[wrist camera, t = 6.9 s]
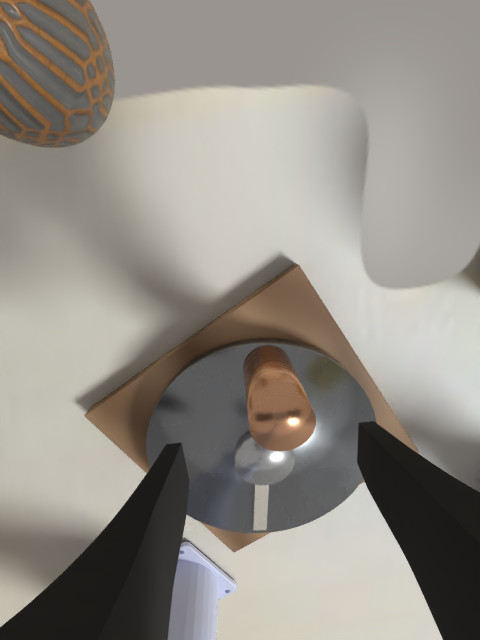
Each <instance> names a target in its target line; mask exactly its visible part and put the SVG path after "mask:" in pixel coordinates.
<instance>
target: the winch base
mask: <svg viewBox="0 0 480 640" xmlns="http://www.w3.org/2000/svg"><path fill="white" fill-rule="evenodd" d="M253 338H281V339H287V340H292V341H297V342H301V343H304V344H307V345H310V346H313V347H315V348H317V349H319V350H321V351H323V352H325V353H327V354H328V355H330V356H331V357H333V358H334V359H336V360H337V361H338V362H339V363H341V364H342V365H343V366H344V367H345V368H346V369H347V370H348V371H349V372H350V373H351V375H352V376H353V377H354V378H355V379H356V381H357V382H358V383H359V384H360V386H361V387H362V388H363V389H364V391H365V393H366V395H367V396H368V398H369V400H370V402H371V405H372V407H373V410H374V413H375V418H376V422H377V424H378V425H380V426H381V427H382V428H384V429H385V430H386V431H388V432H389V433H390V434H392V435H393V436H394V437H396V438H397V439H399V440H400V441H401V442H403V443H404V444H405V445H407V446H408V447H409V448H411V449H412V450H414V451H415V452H416V453H418V452H419V451H418V450H417V448H416V447H415V445H414V444H413V442H412V440H411V439H410V437H409V436H408V434H407V433H406V431H405V429H404V428H403V426H402V425H401V423H400V422H399V420H398V419H397V417H396V415H395V414H394V412H393V411H392V409H391V408H390V406H389V405H388V403H387V401H386V400H385V398H384V397H383V395H382V394H381V392H380V391H379V389H378V387H377V386H376V384H375V383H374V381H373V380H372V378H371V377H370V375H369V373H368V372H367V370H366V369H365V367H364V366H363V364H362V362H361V361H360V359H359V358H358V356H357V355H356V353H355V352H354V350H353V348H352V347H351V345H350V344H349V342H348V341H347V339H346V338H345V336H344V334H343V333H342V331H341V330H340V328H339V327H338V325H337V324H336V322H335V320H334V319H333V317H332V316H331V314H330V313H329V311H328V310H327V308H326V306H325V305H324V303H323V302H322V300H321V299H320V297H319V295H318V294H317V292H316V291H315V289H314V288H313V286H312V285H311V283H310V281H309V280H308V278H307V277H306V275H305V274H304V272H303V271H302V269H301V267H300V266H299V265H298V264H296V263H295V264H294V265H292V266H291V267H290V268H288V269H287V270H285V271H284V272H283V273H281V274H280V275H278V276H277V277H275V278H274V279H273V280H271V281H270V282H268V283H267V284H265V285H264V286H263V287H261V288H260V289H258V290H257V291H255V292H254V293H253V294H251V295H250V296H248V297H247V298H246V299H244V300H243V301H241V302H240V303H238V304H237V305H236V306H234V307H233V308H231V309H230V310H228V311H227V312H226V313H224V314H223V315H221V316H220V317H219V318H217V319H216V320H214V321H213V322H211V323H210V324H209V325H207V326H206V327H204V328H203V329H201V330H200V331H199V332H197V333H196V334H194V335H193V336H192V337H190V338H189V339H187V340H186V341H184V342H183V343H182V344H180V345H179V346H177V347H176V348H174V349H173V350H172V351H170V352H169V353H167V354H166V355H165V356H163V357H162V358H160V359H159V360H157V361H156V362H155V363H153V364H152V365H150V366H149V367H147V368H146V369H145V370H143V371H142V372H140V373H139V374H138V375H136V376H135V377H133V378H132V379H130V380H129V381H128V382H126V383H125V384H123V385H122V386H120V387H119V388H118V389H116V390H115V391H113V392H112V393H111V394H109V395H108V396H106V397H105V398H103V399H102V400H101V401H99V402H98V403H96V404H95V405H93V406H92V407H91V408H90V409H89V410H88V412H87V413H86V414H85V417H86V418H87V419H88V420H89V421H90V422H91V423H92V424H94V425H95V426H96V427H97V428H98V429H99V430H100V431H101V432H102V433H103V434H105V435H106V436H107V437H108V438H109V439H110V440H111V441H112V442H113V443H114V444H115V445H117V446H118V447H119V448H120V449H121V450H122V451H123V452H124V453H125V454H126V455H128V456H129V457H130V458H131V459H132V460H133V461H134V462H135V463H136V464H137V465H139V466H140V467H141V468H142V469H143V470H144V471H145V472H146V473H148V471H149V470H150V467H149V464H148V459H147V453H146V438H147V431H148V426H149V423H150V420H151V416H152V414H153V411H154V409H155V406H156V404H157V402H158V400H159V397H160V395H161V393H162V392H163V390H164V389H165V387H166V386H167V384H168V383H169V382H170V380H171V379H172V378H173V377H174V376H175V375H176V374H177V373H178V372H179V371H180V370H181V369H182V368H183V367H185V366H186V365H187V364H188V363H189V362H191V361H192V360H194V359H195V358H197V357H199V356H200V355H202V354H203V353H205V352H208V351H210V350H212V349H214V348H216V347H219V346H222V345H225V344H228V343H231V342H235V341H240V340H245V339H253ZM363 482H365V481H364V478H363V480H362V482H361V483H363ZM361 483H360V484H361ZM201 523H202V522H201ZM202 524H203V525H204V526H205V527H206V528H208V529H209V530H210V531H211V532H212V533H213V534H214V535H215V536H216V537H217V538H219V539H220V540H221V541H222V542H223V543H224V544H225V545H226V546H227V547H228V548H229V549H231V550H232V551H233V552H236V551H238V550H240V549H241V548H243V547H245V546H247V545H249V544H251V543H252V542H254V541H256V540H258V539H260V538H262V537H263V536H265V535H267V534H269V533H271V532H268V533H241V532H233V531H228V530H223V529H219V528H216V527H213V526H209V525H207V524H204V523H202Z"/></svg>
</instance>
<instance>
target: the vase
mask: <svg viewBox="0 0 480 640" xmlns="http://www.w3.org/2000/svg"><path fill="white" fill-rule="evenodd" d="M114 81H115V79H114V68H113V61H112V56H111V52H110V48H109V44H108V41H107V38H106V35H105V32H104V29H103V27H102V25H101V22H100V20H99V18H98V16H97V14H96V12H95V10H94V8H93V6H92V4H91V2H90V1H89V0H0V135H3V136H5V137H7V138H10V139H13V140H16V141H19V142H22V143H26V144H30V145H34V146H39V147H66V146H71V145H74V144H78V143H80V142H82V141H84V140H86V139H88V138H89V137H91V136H92V135H93V134H95V133H96V132H97V131H98V130H99V128H100V127H101V126H102V125H103V123H104V122H105V120H106V118H107V116H108V114H109V112H110V109H111V105H112V102H113V97H114V87H115V86H114V85H115V83H114Z"/></svg>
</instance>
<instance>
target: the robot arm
mask: <svg viewBox="0 0 480 640" xmlns="http://www.w3.org/2000/svg"><path fill="white" fill-rule="evenodd" d="M357 464H358V466H359V469H360V471H361V474H362V476H363V478H364V481H365V483H366V485H367V488H368V490H369V492H370V493H371V495H372V497H373V499H374V501H375V502H376V504H377V506H378V508H379V510H380V512H381V513H382V515H383V517H384V519H385V520H386V522H387V524H388V526H389V528H390V529H391V531H392V533H393V535H394V537H395V538H396V540H397V542H398V544H399V545H400V547H401V549H402V551H403V553H404V555H405V557H406V559H407V561H408V563H409V565H410V567H411V569H412V571H413V573H414V575H415V578H416V580H417V582H418V584H419V586H420V588H421V591H422V593H423V595H424V597H425V599H426V602H427V604H428V606H429V609H430V611H431V613H432V615H433V618H434V620H435V622H436V625H437V627H438V629H439V631H440V634H441V636H442V638H443V640H480V492H478V491H476V490H474V489H472V488H471V487H469V486H467V485H465V484H464V483H462V482H461V481H459V480H457V479H456V478H454V477H452V476H451V475H449V474H448V473H446V472H445V471H443V470H441V469H440V468H438V467H437V466H435V465H434V464H432V463H431V462H429V461H428V460H426V459H425V458H424V457H422V456H421V455H419V454H418V453H416V452H415V451H414V450H412V449H411V448H409V447H408V446H407V445H405V444H404V443H403V442H401V441H400V440H399V439H397V438H396V437H394V436H393V435H392V434H390V433H389V432H388V431H386V430H385V429H384V428H382V427H381V426H380V425H378V424H377V423H376V422H374V421H370V422H361V423H359V426H358V451H357ZM188 495H189V477H188V472H187V467H186V462H185V457H184V452H183V447H182V442H181V443H172V444H166V445H165V446H164V448H163V450H162V451H161V453H160V454H159V456H158V457H157V459H156V461H155V462H154V464H153V465H152V467H151V468H150V470H149V471H148V473H147V474H146V476H145V477H144V478H143V480H142V481H141V483H140V484H139V486H138V487H137V488H136V490H135V491H134V493H133V494H132V495H131V497H130V498H129V499H128V500H127V502H126V503H125V504H124V506H123V507H122V508H121V510H120V511H119V512H118V513H117V515H116V516H115V517H114V518H113V520H112V521H111V522H110V523H109V524H108V526H107V527H106V528H105V529H104V530H103V531H102V532H101V534H100V535H99V536H98V537H97V538H96V539H95V540H94V541H93V542H92V544H91V545H90V546H89V547H88V548H87V549H86V550H85V551H84V552H83V553H82V554H81V555H80V556H79V557H78V558H77V559H76V560H75V561H74V562H73V563H72V564H71V565H70V566H69V567H68V568H67V569H66V570H65V571H64V572H63V573H62V574H61V575H60V576H59V577H58V578H57V579H56V580H55V581H54V582H52V583H51V584H50V585H49V586H48V587H47V588H46V589H45V590H44V591H43V592H42V593H40V594H39V595H38V596H37V597H36V598H35V599H34V600H33V601H31V602H30V603H29V604H28V605H27V606H26V607H24V608H23V609H22V610H21V611H20V612H19V613H17V614H16V615H15V616H14V617H12V618H11V619H10V620H9V621H8V622H6V623H5V624H4V625H3V626H2V627H0V640H217V610H218V600H219V599H221V598H223V597H225V596H227V595H229V594H231V593H233V592H235V591H236V590H237V583H236V582H235V581H233V580H232V579H231V578H230V577H229V576H228V575H226V574H225V573H224V572H223V571H222V570H221V569H220V568H218V567H217V566H216V565H215V564H214V563H213V562H211V561H210V560H209V559H208V558H207V557H206V556H204V555H203V554H202V553H201V552H200V551H199V550H198V549H196V548H195V547H194V546H193V545H192V544H191V543H189V542H183V543H181V541H182V536H183V530H184V525H185V519H186V514H187V507H188Z"/></svg>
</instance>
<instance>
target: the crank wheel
mask: <svg viewBox="0 0 480 640" xmlns="http://www.w3.org/2000/svg"><path fill="white" fill-rule="evenodd" d="M370 421H374V422H376V418H375V413H374V410H373V407H372V405H371V402H370V400H369V398H368V396H367V395H366V393H365V391H364V389H363V388H362V387H361V386H360V384H359V383H358V382H357V381H356V379H355V378H354V377H353V376H352V375H351V373H350V372H349V371H348V370H347V369H346V368H345V367H344V366H343V365H342V364H341V363H339V362H338V361H337V360H336V359H334V358H333V357H331V356H330V355H328V354H327V353H325V352H323V351H321V350H319V349H317V348H315V347H313V346H310V345H307V344H304V343H301V342H297V341H292V340H287V339H281V338H253V339H245V340H240V341H235V342H231V343H228V344H225V345H222V346H219V347H216V348H214V349H212V350H210V351H208V352H205V353H203V354H202V355H200V356H199V357H197V358H195V359H194V360H192V361H191V362H189V363H188V364H187V365H186V366H185V367H183V368H182V369H181V370H180V371H179V372H178V373H177V374H176V375H175V376H174V377H173V378H172V379H171V380H170V382H169V383H168V384H167V386H166V387H165V389H164V390H163V392H162V393H161V395H160V397H159V400H158V402H157V404H156V406H155V409H154V411H153V414H152V416H151V420H150V423H149V426H148V431H147V438H146V453H147V459H148V464H149V467H150V468H151V467H152V465H153V464H154V462H155V461H156V459H157V457H158V456H159V454H160V453H161V451H162V450H163V448H164V446H165V445H166V444H172V443H181V442H182V447H183V452H184V457H185V462H186V467H187V472H188V477H189V495H188V507H187V515H189V516H190V517H192V518H194V519H196V520H198V521H200V522H202V523H204V524H207V525H209V526H213V527H216V528H219V529H223V530H228V531H233V532H241V533H268V532H276V531H282V530H287V529H291V528H294V527H298V526H301V525H303V524H306V523H309V522H311V521H313V520H315V519H317V518H319V517H321V516H323V515H325V514H326V513H328V512H330V511H331V510H333V509H334V508H336V507H337V506H338V505H339V504H341V503H342V502H343V501H345V500H346V499H347V498H348V497H349V496H350V495H351V494H352V493H353V492H354V490H355V489H356V488H357V487H358V485H359V484H360V483H361V482H362V480H363V476H362V474H361V471H360V469H359V466H358V464H357V451H358V426H359V423H361V422H370ZM376 423H377V422H376Z"/></svg>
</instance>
